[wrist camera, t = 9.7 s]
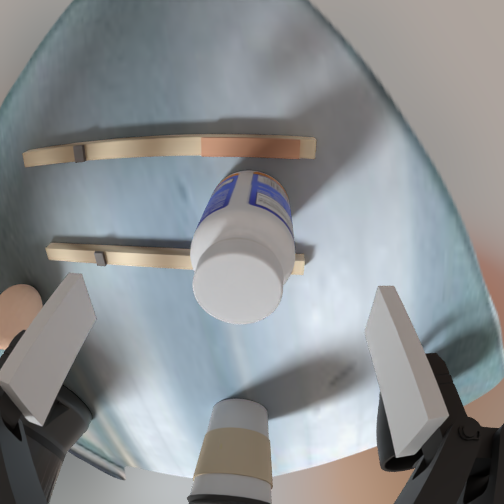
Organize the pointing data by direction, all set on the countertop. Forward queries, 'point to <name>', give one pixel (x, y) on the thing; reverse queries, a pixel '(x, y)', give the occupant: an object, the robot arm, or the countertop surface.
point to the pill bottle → (243, 248)
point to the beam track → (162, 147)
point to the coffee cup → (234, 456)
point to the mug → (391, 446)
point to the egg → (17, 311)
